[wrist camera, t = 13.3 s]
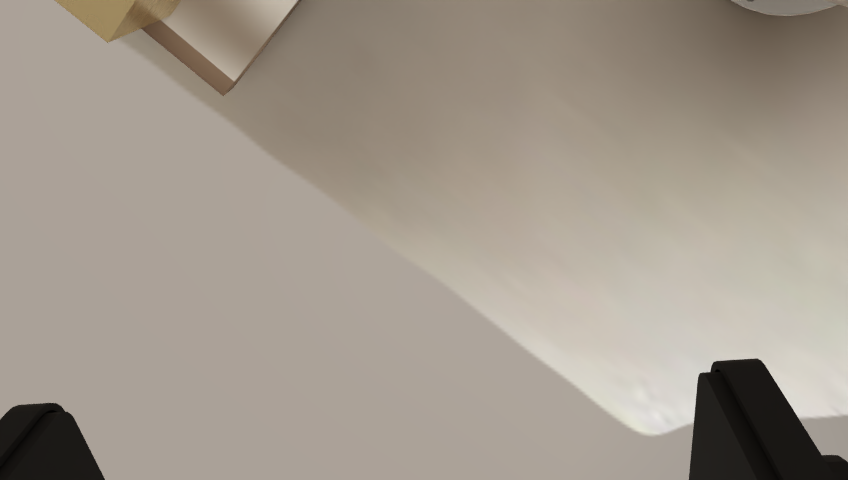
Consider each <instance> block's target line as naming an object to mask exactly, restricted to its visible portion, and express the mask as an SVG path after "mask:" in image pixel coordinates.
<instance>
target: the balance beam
mask: <svg viewBox="0 0 848 480" xmlns="http://www.w3.org/2000/svg"><path fill="white" fill-rule="evenodd" d="M300 2H301V0H181V1H180V3H179V4H178V6H177V7H176V9H175V10H174V11H173V13H172V14H171V16H168V17H166V18H164V19H161V20H159V21H157V22H154V23H152V24H150V25H147V26H145V27H143V28H141V29H143V30H144V31H145V32H146V33H147V34H149V35H150V36H151V37H152V38H153V39H155V40H156V41H157V42H158V43H160V44H161V45H162V46H163V47H164V48H166V49H167V50H168V51H169V52H170V53H172V54H173V55H174V56H175V57H177V58H178V59H179V60H180V61H181V62H183V63H184V64H185V65H186V66H187V67H189V68H190V69H191V70H192V71H194V72H195V73H196V74H197V75H198V76H200V77H201V78H202V79H203V80H204V81H206V82H207V83H208V84H209V85H211V86H212V87H213V88H214V89H215V90H217V91H218V92H219V93H220V94H221V95H223V96H224V95H225V94H226V93H227V92H229V91H230V90H231V89H232V88H233V87H234V86H235V85H236V83H237V82H238V81H239V79H240V78H241V77H242V76H243V74H244V73H245V72H246V71H247V69H248V68H249V67H250V65H251V64H252V63H253V62H254V60H255V59H256V58H257V56H258V55H259V54H260V53H261V51H262V50H263V49H264V48H265V46H266V45H267V44H268V42H269V41H270V40H271V39H272V37H273V36H274V35H275V33H276V32H277V31H278V30H279V28H280V27H281V26H282V25H283V23H284V22H285V21H286V19H287V18H288V17H289V16H290V14H291V13H292V12H293V10H294V9H295V8H296V7H297V5H298V4H299V3H300Z"/></svg>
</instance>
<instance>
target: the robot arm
mask: <svg viewBox="0 0 848 480" xmlns="http://www.w3.org/2000/svg"><path fill="white" fill-rule="evenodd" d="M731 1H732V2H734V3H736V4H738V5H740V6H742V7H744V8H747V9H750V10H753V11H757V12H760V13H763V14H767V15H779V16H795V15H803V14H811V13H815V12H818V11H821V10H825V9H828V8H831V7H834V6H836V5H842V6H845V7H848V0H731ZM0 480H105V479H104V477H103V475H102V473H101V471H100V469H99V467H98V465H97V463H96V461H95V459H94V457H93V455H92V453H91V451H90V449H89V447H88V445H87V443H86V441H85V439H84V437H83V435H82V433H81V431H80V429H79V427H78V425H77V423H76V421H75V419H74V418H73V416H72V415H71V414H70V413H68V412H65V411H64V409H63V408H62V407H61V406H60V405H58V404H56V403H43V404H27V405H18V406H15V407H13V408H11V409H10V410H9V411H8V412H7V413H6V414H5V415H4V416H3V417H2V418H1V420H0ZM689 480H848V462H847V461H846V460H844V459H842V458H841V457H840V456H838V455H821V453H820V452H819V450H818V449H817V447H816V446H815V444H814V442H813V441H812V439H811V438H810V436H809V434H808V433H807V431H806V430H805V429H804V427H803V425H802V423H801V422H800V420H799V419H798V417H797V415H796V414H795V412H794V411H793V409H792V407H791V406H790V404H789V403H788V401H787V400H786V398H785V396H784V395H783V393H782V392H781V390H780V388H779V387H778V385H777V384H776V382H775V381H774V379H773V377H772V376H771V374H770V373H769V371H768V369H767V368H766V366H765V365H764V364H763V362H762V361H761V360H759V359H743V360H727V361H716V362H714V363H713V365H712V367H711V372H706V373H700V375H699V377H698V384H697V396H696V407H695V418H694V429H693V440H692V451H691V463H690V474H689Z"/></svg>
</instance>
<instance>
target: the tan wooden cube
mask: <svg viewBox="0 0 848 480" xmlns="http://www.w3.org/2000/svg"><path fill="white" fill-rule="evenodd" d="M55 1H56V2H58V3H59V4H60V5H61V6H63V7H64V8H65V9H66V10H67V11H69V12H70V13H71V14H72V15H74V16H75V17H76V18H78V19H79V20H80V21H81V22H82V23H84V24H85V25H86V26H87V27H89V28H90V29H91V30H93V31H94V32H95V33H96V34H97V35H99V36H100V37H101V38H103V39H104V40H105V41H106V42H107V43H108V42H110V41H113V40H115V39H117V38H120V37H122V36H124V35H127V34H129V33H131V32H134V31H136V30H138V29H140V28H143V27H145V26H147V25H150V24H152V23H154V22H157V21H159V20H161V19H164V18H166V17H168V16H171V14H172V13H173V11H174V10H175V9H176V7H177V6H178V4H179V3H180V1H181V0H55Z"/></svg>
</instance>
